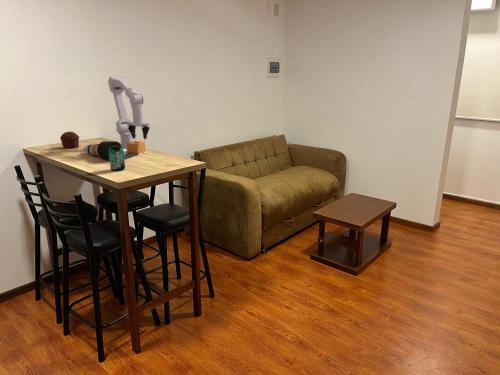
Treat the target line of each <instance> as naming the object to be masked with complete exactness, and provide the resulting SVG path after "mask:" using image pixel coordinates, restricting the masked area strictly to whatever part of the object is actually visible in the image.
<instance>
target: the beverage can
mask: <svg viewBox="0 0 500 375" xmlns="http://www.w3.org/2000/svg"><path fill="white" fill-rule="evenodd" d="M109 159H110V160H109ZM109 159H108V160H109V168H110V170H111V171H112V172H121V171H124V170H125V169H126V162H125V160H126V159H125V160H124V150H123V148H122V146H121V145H113V146H110V148H109Z"/></svg>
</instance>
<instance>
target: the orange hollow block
mask: <svg viewBox="0 0 500 375" xmlns="http://www.w3.org/2000/svg"><path fill="white" fill-rule="evenodd" d="M126 152H131V153H139V154H141V153H142V154H143V153H145V152H146V142H145V141H140V140H136V141H132V142H128V143H127V149H126Z"/></svg>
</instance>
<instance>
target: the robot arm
mask: <svg viewBox="0 0 500 375" xmlns="http://www.w3.org/2000/svg"><path fill="white" fill-rule="evenodd" d="M107 84H108V88H109V90H110V93H112V94H113V98H114V103H115V107H116V110H117V115H118V118H119V119H118V120H117V121H116V122H115V124H116V125H115V126H116V132H117V133H118V135H120V144H121V145H122V147H123V149H126V150H127V143H128V142H132V141H137V138H136V137H137V136H136V135H137V134H136V129H137V127H140V128H141V131H142V136H143V140H147V138H148V133H149V130H150V129H151V128H150V127H151V123H147V122H144V116H143V114H144V113H143V104H144V96H143V95H142V94H141V93H140V94H139V93H138V92H137V91H136V90H135V89H134V88H133V87H130V86H129V84H128V80H127V78H126V77H125V76H109V78H108V81H107ZM123 92H124V95H125V96H126V97H127V98H128V99H129V103H130V107H131V111H132V112H131V113H132V119H130V117H129V118H128V114H127V110H126V106H125V103H124V98H123V94H122V93H123Z"/></svg>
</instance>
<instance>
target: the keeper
mask: <svg viewBox="0 0 500 375" xmlns="http://www.w3.org/2000/svg"><path fill="white" fill-rule="evenodd" d="M123 150H124V160H128V159H131V158H134V157H136V156H139V154H140V153H131V152H127V149H123Z"/></svg>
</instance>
